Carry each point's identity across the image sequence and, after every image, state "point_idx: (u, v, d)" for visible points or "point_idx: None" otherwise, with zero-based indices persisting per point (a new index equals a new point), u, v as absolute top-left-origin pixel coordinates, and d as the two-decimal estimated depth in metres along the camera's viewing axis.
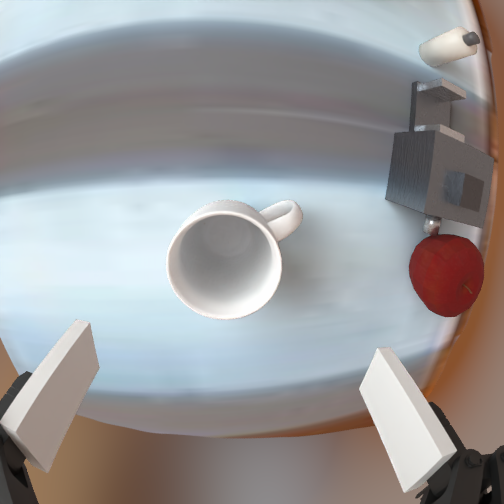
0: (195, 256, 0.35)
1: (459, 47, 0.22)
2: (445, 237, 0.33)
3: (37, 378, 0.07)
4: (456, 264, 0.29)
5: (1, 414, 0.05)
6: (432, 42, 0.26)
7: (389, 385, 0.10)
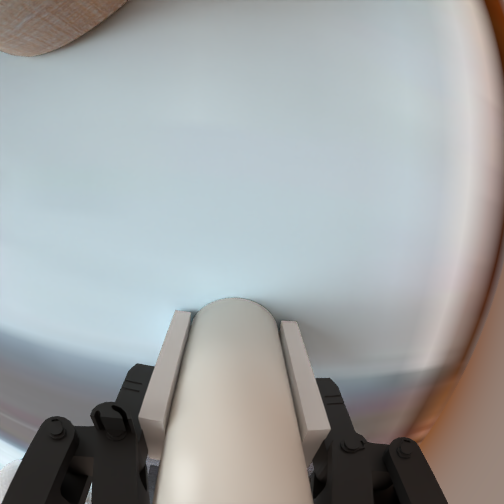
0: None
1: None
2: None
3: (163, 367, 0.09)
4: None
5: None
6: None
7: (284, 356, 0.12)
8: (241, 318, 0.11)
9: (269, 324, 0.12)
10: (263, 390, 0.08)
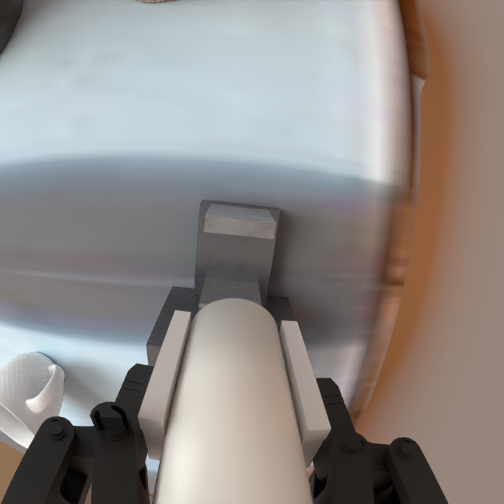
0: None
1: None
2: None
3: (163, 367, 0.09)
4: None
5: None
6: None
7: (285, 356, 0.12)
8: (241, 318, 0.12)
9: (269, 324, 0.12)
10: (263, 390, 0.08)
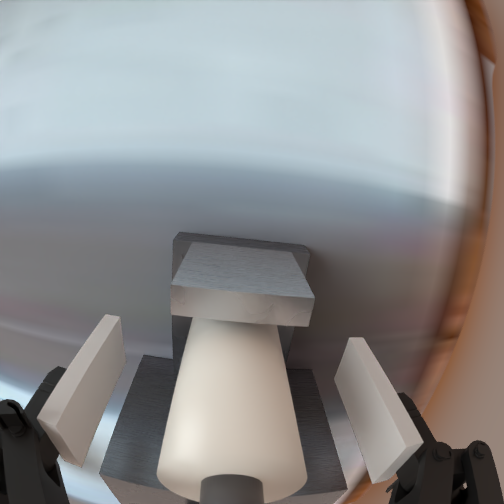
0: None
1: None
2: None
3: (73, 372, 0.08)
4: None
5: (34, 410, 0.06)
6: None
7: (359, 374, 0.11)
8: None
9: None
10: (258, 352, 0.10)
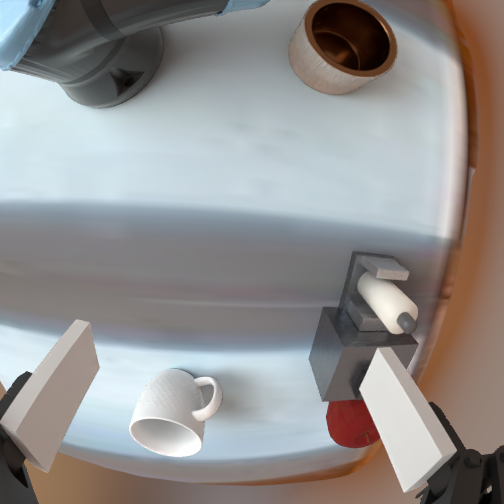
0: None
1: None
2: None
3: (37, 378, 0.07)
4: (355, 426, 0.36)
5: (1, 414, 0.05)
6: (369, 293, 0.35)
7: (389, 385, 0.10)
8: None
9: None
10: None
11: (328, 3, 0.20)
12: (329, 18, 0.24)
